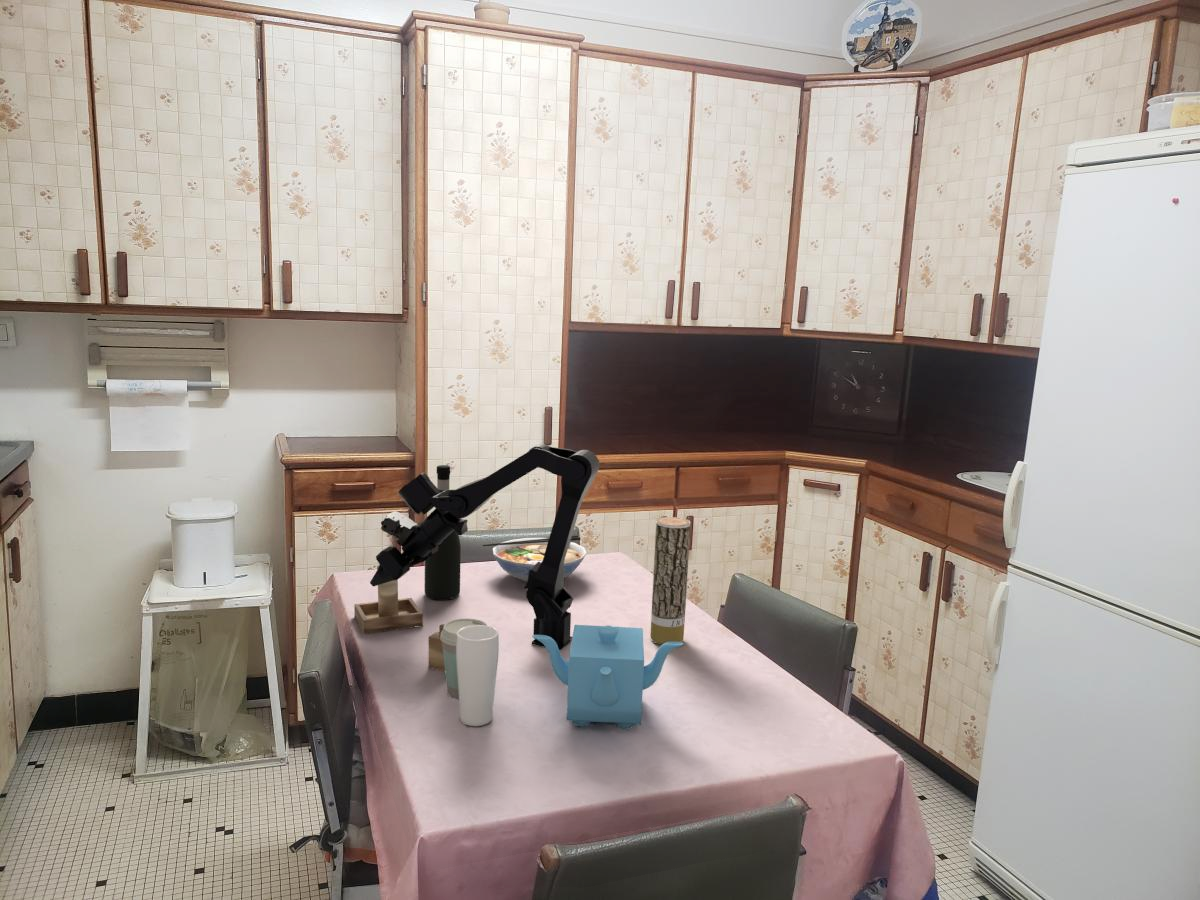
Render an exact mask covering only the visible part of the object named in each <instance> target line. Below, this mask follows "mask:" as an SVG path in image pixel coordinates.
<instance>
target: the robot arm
mask: <svg viewBox="0 0 1200 900" xmlns="http://www.w3.org/2000/svg"><path fill="white" fill-rule="evenodd" d="M600 464H601V463H600V460H599V458H598V457H597V455H596V454H595V453H594V452H592V451H590V450H589V449H581V450H579V451H576V450H573V449H568V448H560V447H554V446H551V445H547V444H545V443H540V444H537V445H535V446H532V447H531V448H529V450H528V451H527V452H526V453H524V454H522V455H521V456H518V457H517V458H515V459H514V460H512V461H511V462H509V463H508V464H506V465H504V466H503V467H501V468H499V469H498V470H495V472H493V473H491V474H490V475H487V476H486V477H483V478H480V479H477V480H474V481H471V482H468V483H466V484H464V485H461V486H459V487H458V488H456V489H449V490H445V491H443V492H440V491H439V490H438V489H437V486H436V485H435V484H434V483H433V481H431V479H430V477H429V475H428V474H427V473H426V472H422V473H419V474H418V475H417V476H416V477H414V478H413V479H411V480H410V481H409V482H408V483H406V484H404V485H403V486H402V487H401V488H400V489H399V490H398V492H397V494H398V496H400V498H401V499H402V500H403V501H404V502H405V504H406V505H407V506H408V507H409V508H410V509H411V510H412V511H413V513H414V514H415V515H420V514H421V515H422V516H424V515H426V514H427V513H429V512H430V511H431V510H432V509H434V508H435V509H434V510H432V511H431V512H430V513H429V514H428V515H427V516H426V517H425V518H424V519H423V520H421V521H420V522H419V523H416V522H415V521H413V520H412V519H411V518H409V517H408V516H406V515H404V514H402V513H401V512H399V511H394V510H393V511H392V512H389V513H388V514H386V517H384V519H383V520H381V522H380V525H381V527H380V529H381V531H382V532H384V533H387V534H388V535H390V536H393V537H395V538H397V540H396V541H395V542H396V543H397V545H398V546H399V547H401V550H402V552H401V551H400V550H399V549H398V548H397V547H396V546H393V545H392V546H391V545H389V546H387V547H386V548H384V549H382V550H381V551H380V552H379V553H378V554H377V555H376V556H375V560H376V561H377V563H378V566H379V568H378V570H376V571H375V572H374V573H375V574H374V575H373V576H372V578H371V579H370V581H369V583H370V585H371V586H372V587H376V586H377V587H378V585H380V584H383V583H387V582H390V581H393V580H399V579H401V578H402V577H403V576H405V575H406V574H407V573H408V572H409V571H410V570H411V567H413V566H416V565H418V564H421V563H423V562H424V563H425V560H427V559H428V558H430V557H431V556H433V555H434V554H435V553H436V552H437V551H438V545H440V544H441V543H442V542H443V540H444V539H445V538H446V537H447V536H448V535H449V534H451V533H452V532H453V531H454V530H455V531H456V532H457V534H458V535H459V537H460V536H462V535H464V534H465V533H467V532H468V530H469V529H468V519H464V518H467V517H469V516H470V515H472V514H474V513H475V512H477V511H479V509H480V508H482V507H483V506H484V505H485V504H487V502H488V501H489V500H491V499H492V498H493V497H494V495H496V494H497V493H498V492H499V491H501V490H503V489H504V488H506V487H508V486H509V485H511V484H513V483H514V482H516V481H517V480H519V479H520V478H523V477H524V476H526V475H527V474H529V473H531V472H532V471H534V470H536V469H538V468H539V469H543V470H544V471H546V472H548V473H551V474H553V475H555V476H558V477H561V478H560V479H561V480H560V488H561V490H560V492H561V495H560V496H561V497H560V501H559V504H558V507H557V510H556V514H555V517H554V520H553V524H552V527H551V531H550V534H549V537H548V538H549V541H548V544H547V547H546V551H545V554H544V558H543V561H542V563H541V562H537V563H536V564H535V565H534V566H533V567H532V568H531V569H530V570H529V575H528V582H526V584H525V586H523V589H524V590H526V591H525V599H526V600H527V602H528V604H530V606H531V607H532V610H533V611H534V615H535V617H534V619H533V635H545V636H549V637H551V638H552V639H553V640H554V641H555V642H556V644H557V646H558V648H559V651H560V650H563V649H564V648H565V647H567V646H568V645H569V644H571V642H572V636H571V623H572V622H571V621H572V613H571V612H568V610H569V608H570V607H571V606H572V603H573V601H574V597H573V596H572V595H571V594H570V593H569V591H568V590H567V589H565V587H564V582H565V581H564V578H565V577H564V560H565V557H566V553H567V550H568V547H569V543H570V542H571V541H570V540H571V537H572V536H573V533H574V529H575V526H576V523H577V520H578V517H579V513H580V509H581V507H582V502H583V499H584V498H585V495H586V494H587V492H588V491H589V489H590V487H591V486H592V484H593V482H594V480H595V477H596V476H597V474H598V472H599V470H600ZM531 645H533V646H537V647H542V648H546V647H545V646H544V644H543V643H542V642H540V641H538V640H537V639H535V638H533V640H532V641H531Z"/></svg>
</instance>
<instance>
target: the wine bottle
mask: <svg viewBox="0 0 1200 900" xmlns="http://www.w3.org/2000/svg"><path fill="white" fill-rule="evenodd" d="M450 474H451V466H450V465H447V464H445V465H444V464H441V465H440V464H439V465H437V466H436V476H437V479H436V481H437V483H436V484H437V486H436V487H437V489H438V490H439V491H440V492H443V491H445V490H450V479H451V478H450V476H451V475H450ZM461 548H462V547H461V539H460V535H458V534H457V532H456V531H455V530H454V531H453V532H452V533H451V534H449V535H448V536H447V537H446V538H445V539H444V540H443V542H442V543H441V544H440V545H438V551H437V552H436V553H435V554H434V555H433V556H431V557H430V558H428V559H427V560H425V561H424V587H423V588H424V595H426V597H428V598H429V599H432V600H434V601H435V600H436V601H446V600H452V599H455V598H456V597H458V596H459V594H460V593H461V550H462V549H461Z"/></svg>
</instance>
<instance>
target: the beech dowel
mask: <svg viewBox="0 0 1200 900" xmlns="http://www.w3.org/2000/svg"><path fill="white" fill-rule="evenodd" d="M376 568H377V570H378V568H379V565H378V566H376ZM377 570H376V571H377ZM398 580H399V579H398ZM398 580H393V581H390V582H387V583H383V584H380V585H377V599H378V600H377V602H378V611H379V617H385V616H394V615H398V599H399V586H398V585H399V584H398V583H399V582H398Z"/></svg>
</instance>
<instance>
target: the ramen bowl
mask: <svg viewBox="0 0 1200 900" xmlns="http://www.w3.org/2000/svg"><path fill="white" fill-rule="evenodd" d="M548 541H549V537H523V538H515V539H510V540H507V541H506V540H505V541H502V542H497V543H489V544H482V546H483V547H493V546H494V547H493V548H492V553H493V555H494V558H495V561H496V562H497V563H498V564H499V567H501V569H503V572H506V573H507V574H509V575H510V576H512V577H513V578H516V579H519V580H522V581H525V582H526V583H527V582H528V575H529V570H530V569H531V568H532V567H533V566H534V565H535V564H536V563H537V562H541V563H542V561H543V558H544V554H545V551H546V547H547V544H548ZM572 541H573V542H572ZM574 541H581V537H580V536H579V535H577V534H576V535H572V537H571V540H570V543H569V547H568V550H567V553H566V557H565V560H564V578H566V577H568V576H570V575H571V574H573V573H574V572H575V571H576V570H577V568H578V567H579V566H580V565H581V563H582V562H583V560H584V559H585V557H586V555H587V553H588V552H587V550H586V548H585V547H584V546H581V545H580V544H578V543H576V542H574Z"/></svg>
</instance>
